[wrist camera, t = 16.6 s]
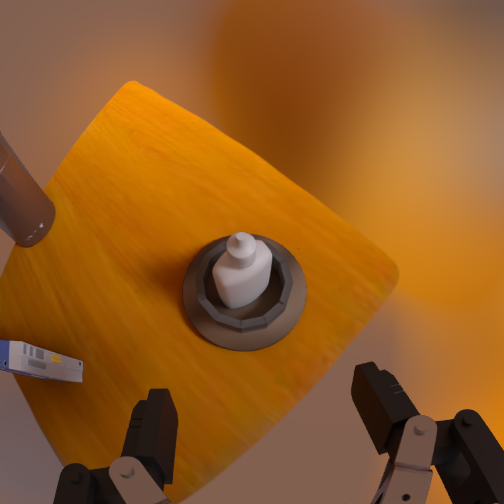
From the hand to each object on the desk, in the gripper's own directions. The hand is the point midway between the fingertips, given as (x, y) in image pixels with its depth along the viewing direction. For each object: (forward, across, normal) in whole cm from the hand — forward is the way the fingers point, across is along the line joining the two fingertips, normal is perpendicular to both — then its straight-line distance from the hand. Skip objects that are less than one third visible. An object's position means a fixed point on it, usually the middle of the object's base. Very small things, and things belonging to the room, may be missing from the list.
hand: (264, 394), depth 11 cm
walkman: (+16, +24, +12) cm, 32 cm away
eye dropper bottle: (+21, 0, +5) cm, 22 cm away
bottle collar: (+22, 0, +6) cm, 23 cm away
